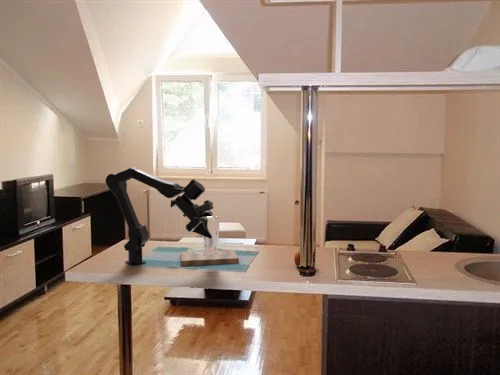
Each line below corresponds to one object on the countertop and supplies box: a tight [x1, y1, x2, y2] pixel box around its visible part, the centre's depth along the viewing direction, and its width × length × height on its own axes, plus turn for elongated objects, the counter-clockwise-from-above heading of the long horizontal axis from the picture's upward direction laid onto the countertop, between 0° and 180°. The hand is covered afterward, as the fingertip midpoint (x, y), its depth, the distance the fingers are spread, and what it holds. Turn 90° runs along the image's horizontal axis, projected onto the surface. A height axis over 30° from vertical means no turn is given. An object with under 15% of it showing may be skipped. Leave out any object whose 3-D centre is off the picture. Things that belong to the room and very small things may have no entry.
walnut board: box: [179, 249, 240, 266], centre depth 207 cm, size 24×15×2 cm, turn 100°
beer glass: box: [202, 215, 220, 256], centre depth 193 cm, size 7×7×15 cm
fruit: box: [293, 250, 301, 268], centre depth 195 cm, size 8×8×8 cm
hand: (213, 236), depth 192 cm, fingers closed on beer glass, 6 cm apart
